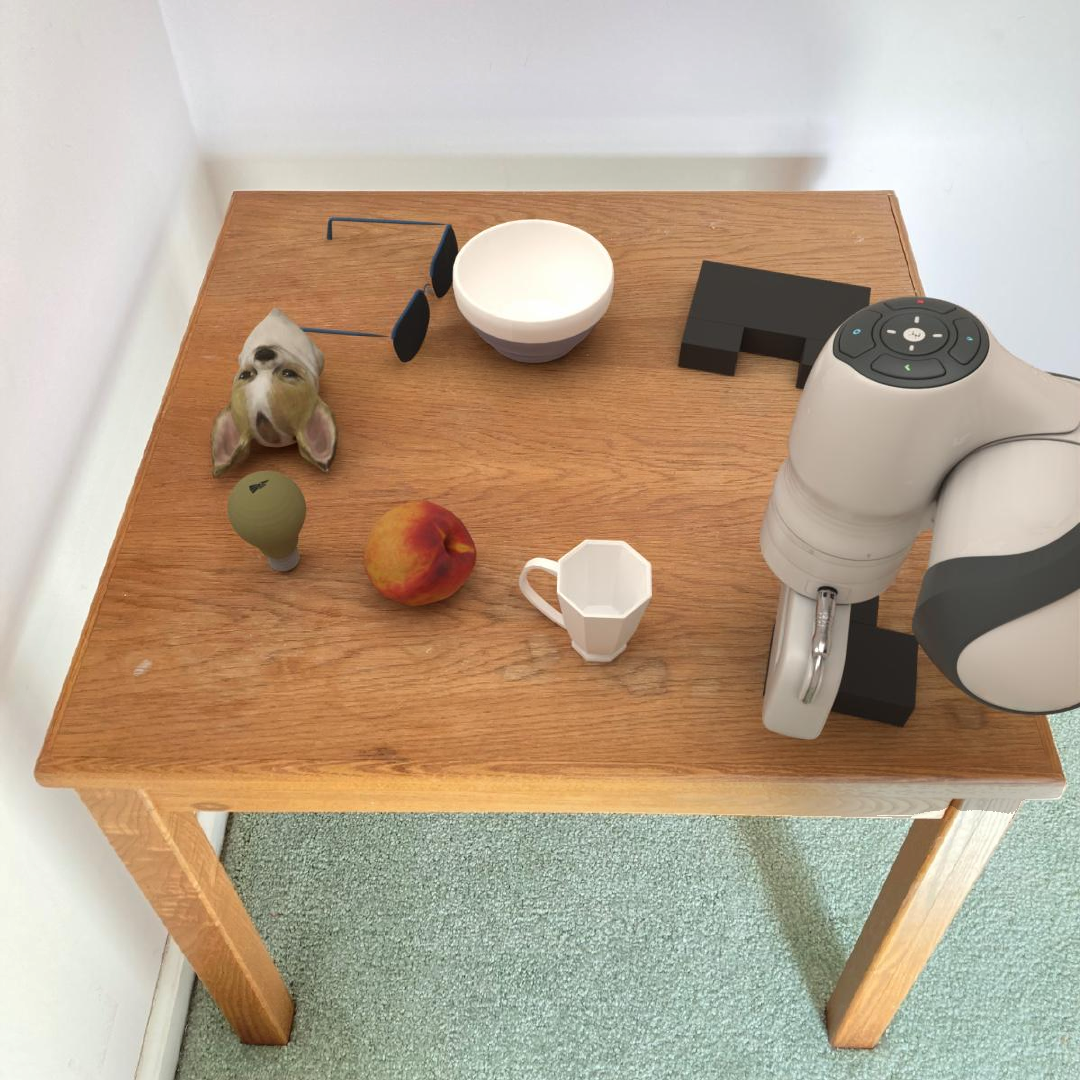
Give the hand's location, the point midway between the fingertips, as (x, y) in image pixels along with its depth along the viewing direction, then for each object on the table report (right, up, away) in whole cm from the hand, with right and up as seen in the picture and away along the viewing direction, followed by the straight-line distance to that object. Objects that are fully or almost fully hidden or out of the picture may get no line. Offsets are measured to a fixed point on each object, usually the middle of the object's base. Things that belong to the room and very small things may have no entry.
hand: (789, 645), depth 74 cm
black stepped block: (+4, -1, +2) cm, 5 cm away
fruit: (-27, +4, +7) cm, 28 cm away
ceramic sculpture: (-40, +17, +17) cm, 47 cm away
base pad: (+4, +27, +23) cm, 35 cm away
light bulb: (-38, +6, +8) cm, 39 cm away
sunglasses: (-35, +31, +26) cm, 53 cm away
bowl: (-19, +27, +24) cm, 41 cm away
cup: (-15, +1, +4) cm, 15 cm away
